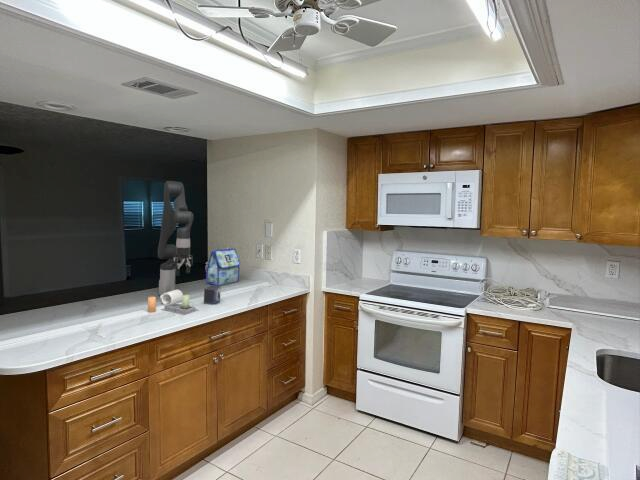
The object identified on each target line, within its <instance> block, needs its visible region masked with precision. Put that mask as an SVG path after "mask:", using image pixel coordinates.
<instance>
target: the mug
mask: <svg viewBox="0 0 640 480" xmlns="http://www.w3.org/2000/svg"><path fill="white" fill-rule="evenodd" d="M182 295H184V293H183V292H182V291H181V290H180V289H175V290H173V291H170V292H166V293H164V294H163V295H159V298H160V300H161V302H162V304H163V305H165V304H166V305H167V304H172V303H181V302H182Z"/></svg>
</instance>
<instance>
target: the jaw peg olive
mask: <svg viewBox="0 0 640 480" xmlns="http://www.w3.org/2000/svg"><path fill="white" fill-rule="evenodd" d="M181 304H182V309H185V310H187V309H189V306H190V294H183V295H182V301H181Z"/></svg>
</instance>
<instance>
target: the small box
mask: <svg viewBox="0 0 640 480" xmlns="http://www.w3.org/2000/svg"><path fill="white" fill-rule="evenodd" d="M203 292H204V293H203V305H210V306H213V305H218V304H220V303H221V285H218V286H216V285H214V284H211V285H210V286H207V287H205V288H204V290H203Z"/></svg>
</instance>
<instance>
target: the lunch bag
mask: <svg viewBox="0 0 640 480" xmlns="http://www.w3.org/2000/svg"><path fill="white" fill-rule="evenodd" d="M240 265H241V261H240V259H239V256H238V253H237V249H236V248H226V249H225V248H224V249H215V250H212V251H211V253H210V255H209V258H208V263H207V267H206V273H205V283H206V284H211V285H213V286H223V285H226V284H227V285H228V284H232V283H237V282H239V280H240Z"/></svg>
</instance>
